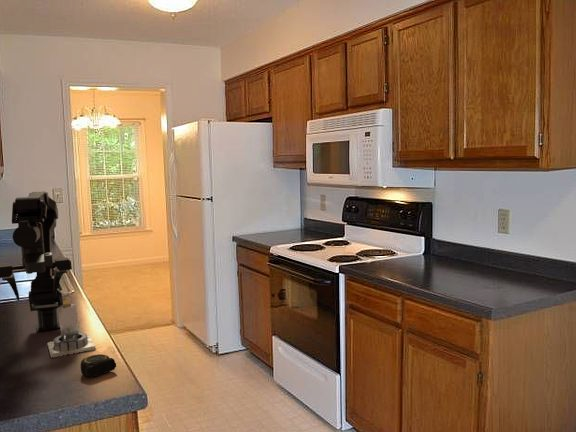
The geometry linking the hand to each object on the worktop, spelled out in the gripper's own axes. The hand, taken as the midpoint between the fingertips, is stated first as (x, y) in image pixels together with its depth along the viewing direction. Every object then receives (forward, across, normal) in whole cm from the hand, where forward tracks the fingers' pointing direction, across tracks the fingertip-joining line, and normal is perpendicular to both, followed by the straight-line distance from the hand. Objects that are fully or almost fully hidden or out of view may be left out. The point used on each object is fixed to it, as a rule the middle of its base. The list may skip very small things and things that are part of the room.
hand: (36, 298), depth 152 cm
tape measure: (+13, +11, -33) cm, 37 cm away
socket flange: (+13, +7, -9) cm, 17 cm away
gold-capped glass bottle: (+12, +7, -9) cm, 16 cm away
